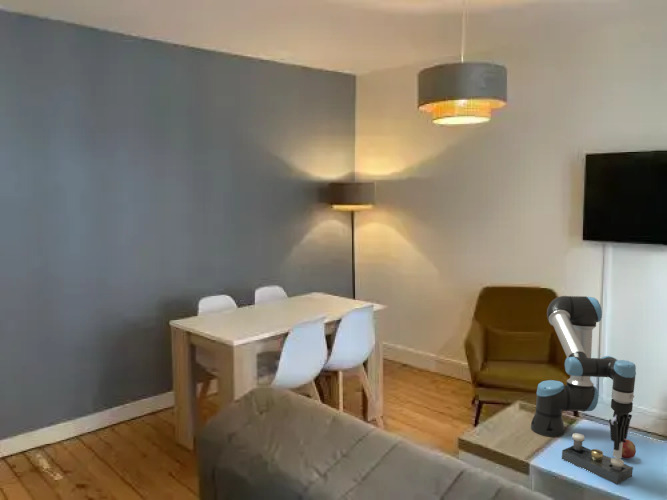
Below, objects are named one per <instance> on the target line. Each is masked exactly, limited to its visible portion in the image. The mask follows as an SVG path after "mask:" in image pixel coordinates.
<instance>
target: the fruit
mask: <svg viewBox="0 0 667 500" xmlns="http://www.w3.org/2000/svg"><path fill="white" fill-rule="evenodd" d="M624 440H626V442H623V447H622V458H623V459H626V460H630V459H633V458H634V457H635V455H636V453H637V449H636V445H635V443H634V442H633V441H631V440H629V439H627V438H626V439H624ZM622 458H621V459H622Z"/></svg>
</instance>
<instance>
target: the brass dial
mask: <svg viewBox="0 0 667 500" xmlns="http://www.w3.org/2000/svg"><path fill="white" fill-rule="evenodd" d="M590 450H591V459H593V460H595V461H602V459H603V455H604V451H603V450H601V449H597V448H593V449H590Z"/></svg>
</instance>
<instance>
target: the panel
mask: <svg viewBox="0 0 667 500" xmlns="http://www.w3.org/2000/svg"><path fill="white" fill-rule="evenodd" d="M591 450H592V449H590V448H587V447H585V446H583V445H582V450H581V451H578V450H575V449H573V445H572V446H569V447H567V448H564V449H562V451H561V460H562V459H564V460H563V461H565V460H566V461H565V462H567V461H568V462H567V463H569V462H570V464H571V463H572V464H571V465H573V464H574V466H576V467H578V468H580V467H581V468H580V469H582V468H584V469H586V470H585V471H587V470H588V471H587V472H589V471H590V472H589V473H591V472H592V473H591V474H593V473H594V475H595V474H596V476H598V477H600V478H602V479H605V480H607V481H609V482H610V483H614V484H615V485H620V484H621V483H623V482H626V481H627V480H629V479H631V478H632V477H633V471H634V468H633V466H631V465H628V464H626V463H624V466H623V467H622V470H621V471H619V470H616V469H614V468H612V464H611V458H612V457H609V456H607V455H604V454H603V459H602V461H595V460H593V459H591ZM584 469H583V470H584Z"/></svg>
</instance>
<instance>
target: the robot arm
mask: <svg viewBox="0 0 667 500" xmlns="http://www.w3.org/2000/svg"><path fill="white" fill-rule="evenodd" d="M602 310H603V309H602V307H601V303H600V301H599V300H598V299H597V298H596V297H593V296H579V295H577V296H573V295H561V296H557V297H555V298H554V299H552V300H551V302H550V303H549V305H548V307H547V310H546V317H547V321H548V323H549V324H550V326H553V328H554V331H555V333H556V335H557V338H558V340H559V343H560V344H561V347H562V350H563V351H564V354H565V356H566V358H565V360H564V370H565V373H566V374H567V375H569V378H568V379H567V380H566V385H565V384H564V383H563V382H562V381H559V380H554V379H553V380H552V379H549V380H548V379H547V380H543V381H540V383H538V384H537V389H536V401H535V402H536V403H535V413H534V416H533V418H532V420H531V423H530V429H531V430H532V431H533V432H534V433H536V434H538V435H541V436H546V437H550V438H551V437H552V438H553V437H554V438H558V437H563V436H564V435H565V434H564V433H566V432H565V431H566V427H565V424H564V420H563V411H569V412H570V411H572V412H582V413H583V412H592V411H594V410H595V409H596V408H597V405H598V402H599V393H598V392H599V391H598V389H597V387H595V386H594V383H593V382H592V380H591V377H595V378H610V379H611V380H612V389H611V399H610V400H611V402H610V408H611V409H612V410H613V414H612V419H611V418H609V420H608V423H609V429H610V431H609V432H610V441H611V442H613V452H612V457H613V458H619V459H622V447H623V442H626V440H624V439H627V438H628V435H629V434H628V433H629V428H630V424H631V419H632V417H633V414H630V413H632V412H633V407H634V406H633V404H634V403H633V402H634V398H635V395H634V393H635V392H634V391H635V383H636V375H637V371H636V369H637V366H636V364H635V363H634V362H633V361H629V360H624V359H617V358H615V357H613V356H610V355H605V356H603V357H601V358H600V357H599V358H598V357H597V358H595V357H592V350H593V349H592V343H593V330H594V329H595V328H596V327H597V323H600V321H602V317H603V311H602Z"/></svg>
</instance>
